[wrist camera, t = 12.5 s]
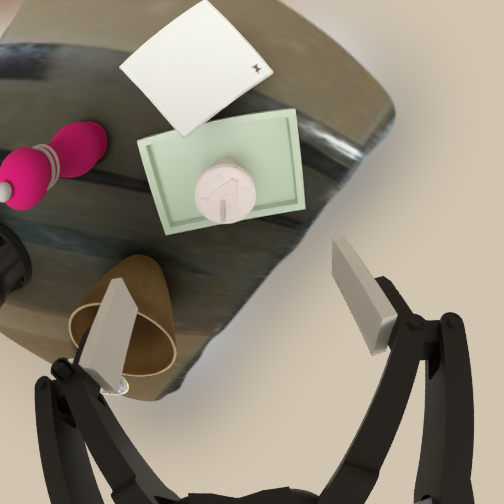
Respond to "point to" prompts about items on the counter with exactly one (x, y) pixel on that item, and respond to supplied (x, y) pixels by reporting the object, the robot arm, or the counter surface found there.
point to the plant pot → (147, 319)
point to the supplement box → (195, 67)
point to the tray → (231, 146)
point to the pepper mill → (50, 163)
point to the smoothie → (225, 192)
